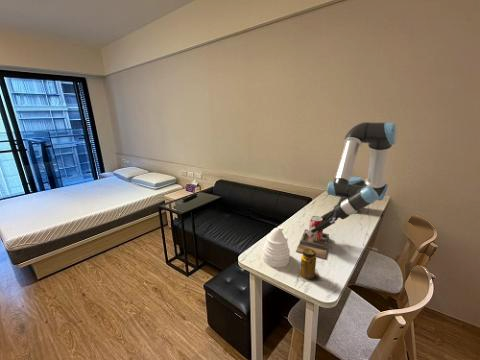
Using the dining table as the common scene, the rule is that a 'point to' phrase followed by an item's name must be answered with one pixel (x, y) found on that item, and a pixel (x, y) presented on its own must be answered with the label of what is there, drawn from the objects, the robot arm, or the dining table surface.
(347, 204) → the robot arm
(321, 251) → the board
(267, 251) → the honey pot
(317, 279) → the condiment
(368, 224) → the dining table surface
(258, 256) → the dining table surface
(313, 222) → the soda can
